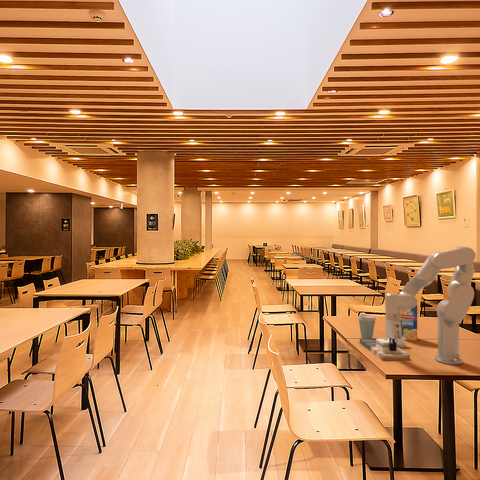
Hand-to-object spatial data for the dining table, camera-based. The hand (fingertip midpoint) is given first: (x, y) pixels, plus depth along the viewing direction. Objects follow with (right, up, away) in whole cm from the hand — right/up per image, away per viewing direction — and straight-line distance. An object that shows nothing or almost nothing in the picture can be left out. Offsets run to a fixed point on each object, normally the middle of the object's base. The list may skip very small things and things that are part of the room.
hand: (392, 350), depth 198 cm
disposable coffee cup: (-1, -4, +38) cm, 38 cm away
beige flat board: (0, -4, +13) cm, 13 cm away
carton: (0, -1, +6) cm, 7 cm away
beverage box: (+25, -4, +38) cm, 45 cm away
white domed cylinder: (+13, -4, +22) cm, 26 cm away
